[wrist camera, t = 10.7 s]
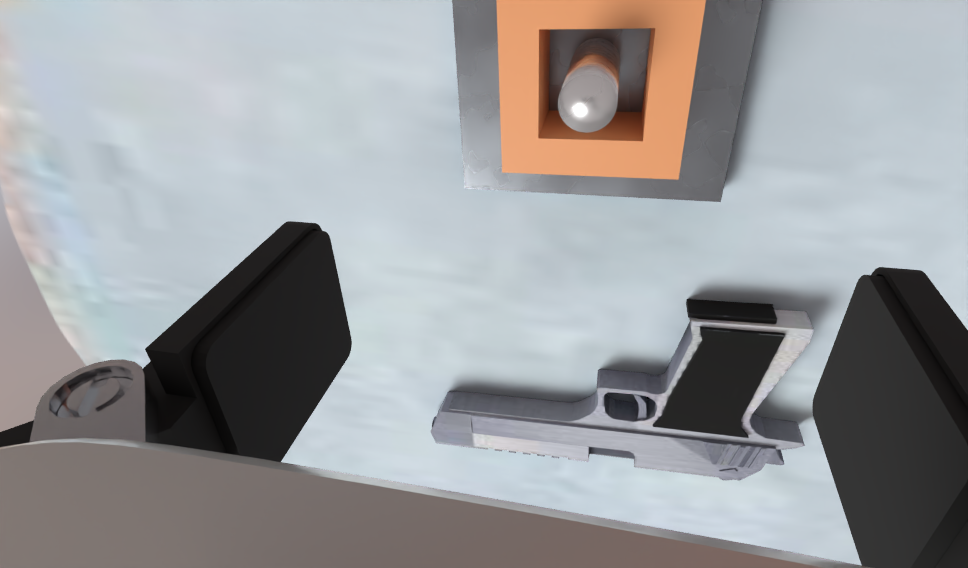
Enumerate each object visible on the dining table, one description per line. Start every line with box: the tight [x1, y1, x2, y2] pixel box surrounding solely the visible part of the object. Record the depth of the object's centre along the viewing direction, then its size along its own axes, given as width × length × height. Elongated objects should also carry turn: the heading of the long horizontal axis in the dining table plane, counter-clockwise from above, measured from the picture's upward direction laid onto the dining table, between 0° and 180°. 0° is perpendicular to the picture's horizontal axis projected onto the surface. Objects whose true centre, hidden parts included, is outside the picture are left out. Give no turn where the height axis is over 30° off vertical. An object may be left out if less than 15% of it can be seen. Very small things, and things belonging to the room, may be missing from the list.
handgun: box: [431, 299, 814, 480], centre depth 34 cm, size 2×22×12 cm
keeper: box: [452, 0, 763, 202], centre depth 22 cm, size 12×12×6 cm
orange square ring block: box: [497, 0, 706, 180], centre depth 23 cm, size 7×7×4 cm
